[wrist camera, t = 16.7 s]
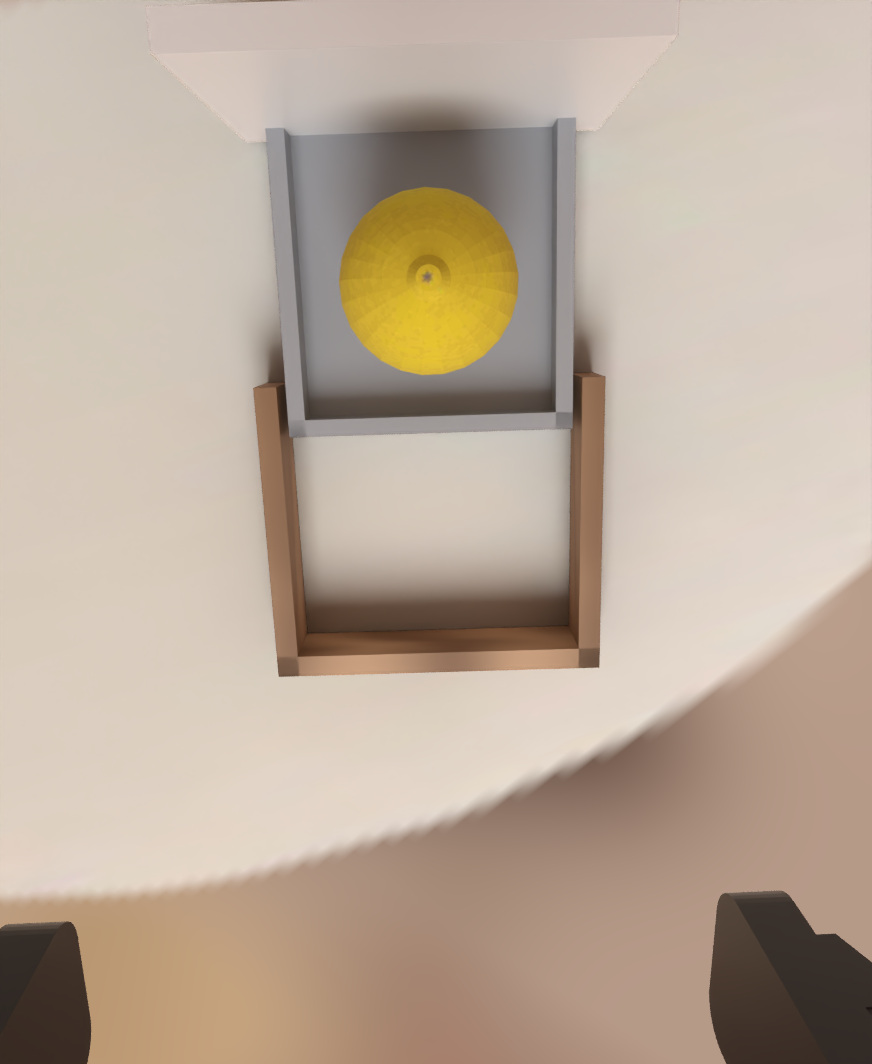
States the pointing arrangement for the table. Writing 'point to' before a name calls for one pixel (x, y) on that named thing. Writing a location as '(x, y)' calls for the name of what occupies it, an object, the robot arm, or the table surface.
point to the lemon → (428, 281)
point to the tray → (417, 171)
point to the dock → (449, 645)
